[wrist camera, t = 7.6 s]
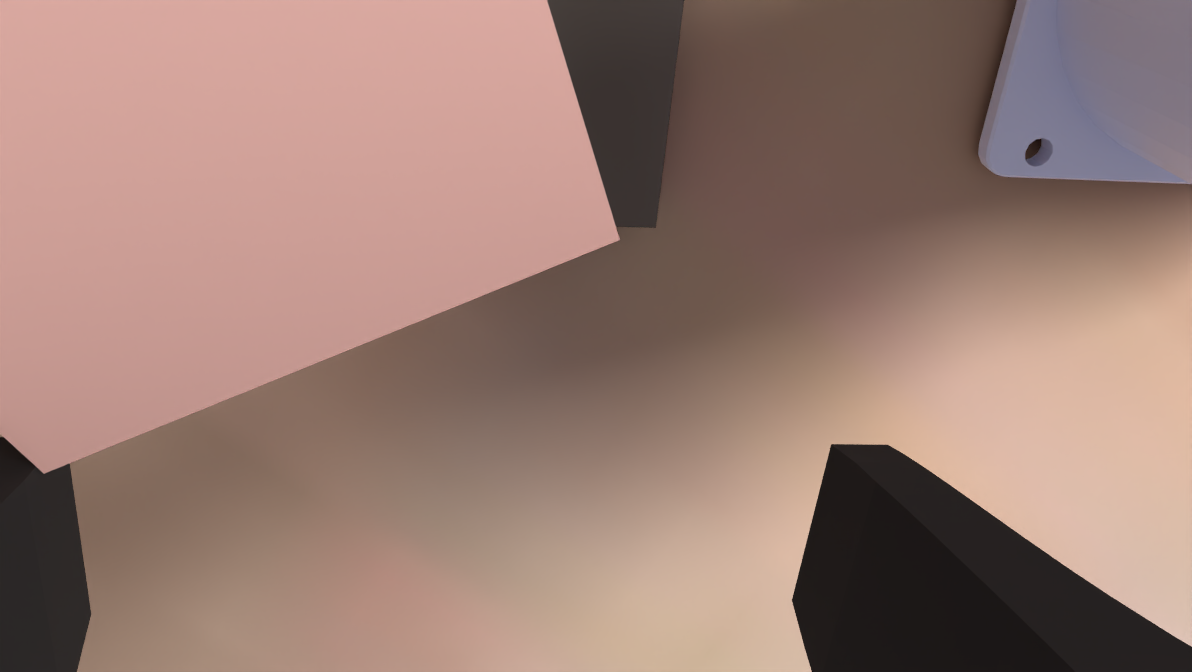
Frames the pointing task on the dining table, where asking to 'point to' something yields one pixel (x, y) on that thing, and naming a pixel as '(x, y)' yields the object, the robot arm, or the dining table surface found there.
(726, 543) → the dining table surface
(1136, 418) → the dining table surface
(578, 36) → the base
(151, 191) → the coral block
